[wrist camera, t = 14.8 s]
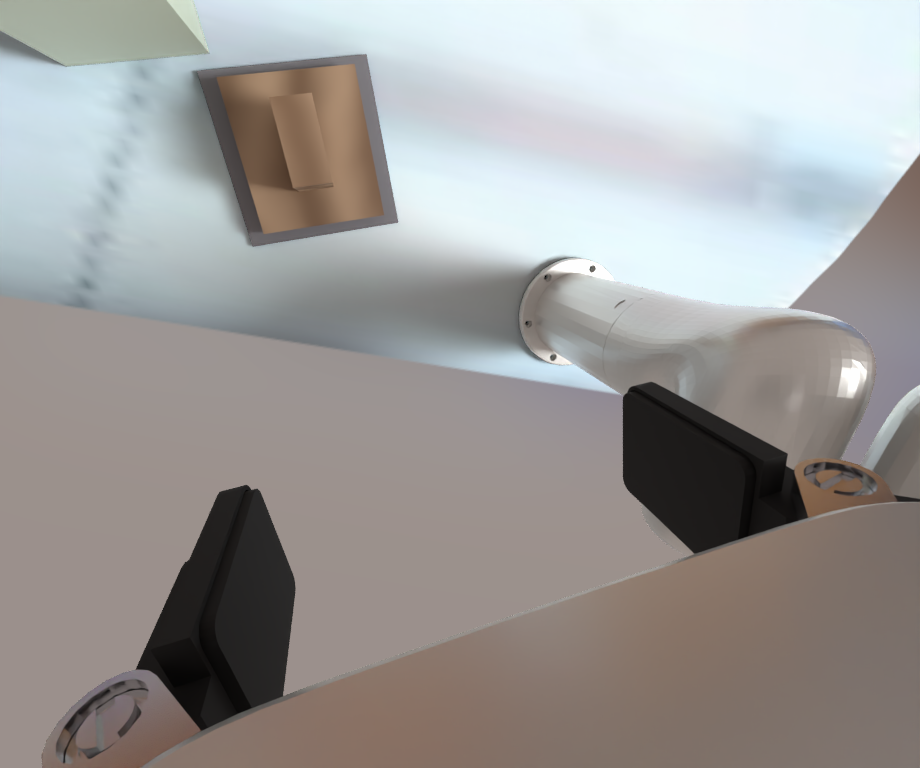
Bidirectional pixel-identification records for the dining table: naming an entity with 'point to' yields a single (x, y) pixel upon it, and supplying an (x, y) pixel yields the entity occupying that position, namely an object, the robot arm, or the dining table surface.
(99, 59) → the box
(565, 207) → the dining table surface
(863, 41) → the dining table surface
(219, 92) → the mat
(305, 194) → the lid
